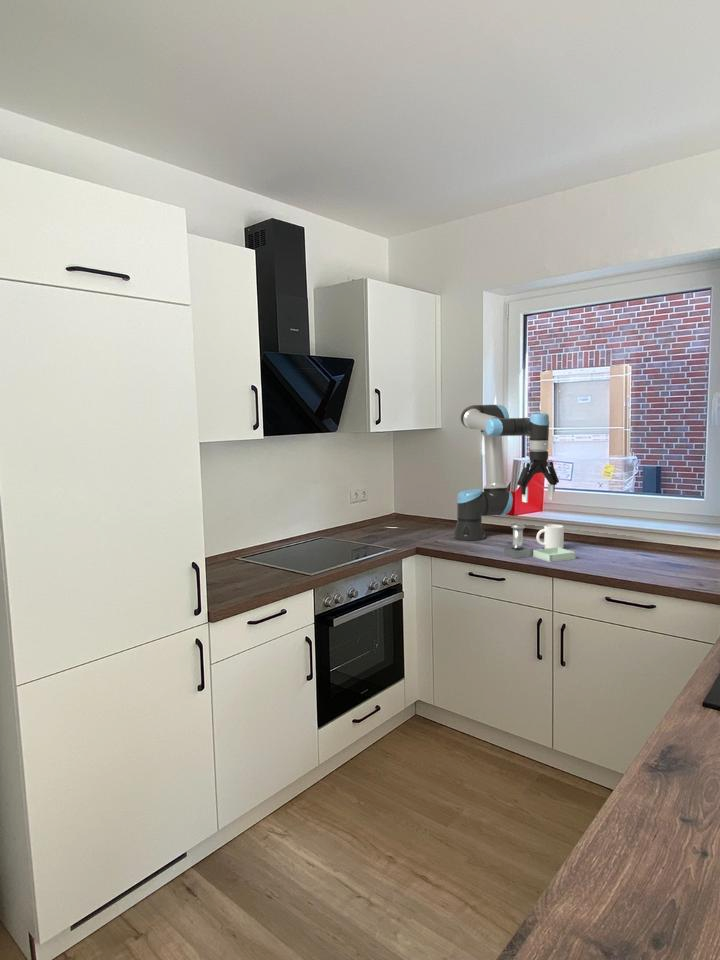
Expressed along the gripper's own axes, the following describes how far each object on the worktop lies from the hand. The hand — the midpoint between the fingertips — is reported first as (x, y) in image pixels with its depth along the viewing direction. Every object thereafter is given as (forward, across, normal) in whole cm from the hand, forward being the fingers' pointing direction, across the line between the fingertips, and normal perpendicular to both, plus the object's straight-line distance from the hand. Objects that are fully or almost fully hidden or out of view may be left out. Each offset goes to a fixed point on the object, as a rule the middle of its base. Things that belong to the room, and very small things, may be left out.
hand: (537, 501), depth 260 cm
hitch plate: (+23, -7, +4) cm, 25 cm away
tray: (+23, +3, -7) cm, 24 cm away
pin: (+23, -7, +4) cm, 25 cm away
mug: (+24, +13, +7) cm, 28 cm away
